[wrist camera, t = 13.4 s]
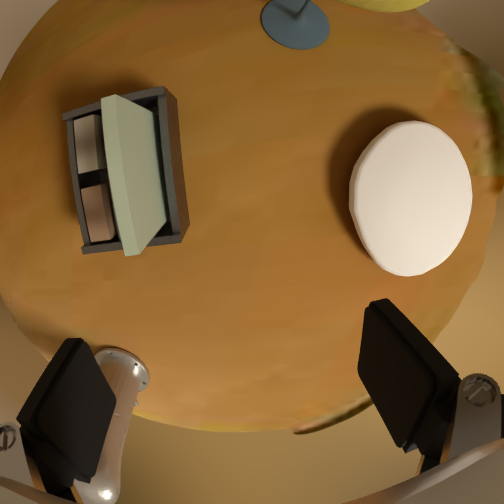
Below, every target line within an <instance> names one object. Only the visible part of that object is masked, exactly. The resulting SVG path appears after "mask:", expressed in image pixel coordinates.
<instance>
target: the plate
mask: <svg viewBox="0 0 504 504" xmlns="http://www.w3.org/2000/svg"><path fill="white" fill-rule="evenodd" d="M471 204H472V188H471V179H470V175H469V171H468V168H467V165H466V163H465V161H464V159H463V157H462V154H461V152H460V150H459V148H458V147H457V146H456V144H455V143H454V142H453V140H452V139H451V138H450V137H449V136H447V135H446V134H445V133H444V132H443V131H442V130H440V129H439V128H437V127H435V126H433V125H431V124H429V123H425V122H420V121H415V120H414V121H405V122H398V123H395V124H393V125H391V126H389V127H387V128H385V129H384V130H383V131H382V132H381V133H380V134H378V135H377V136H376V137H375V138H374V139H373V140H372V141H371V142H370V143H369V144H368V146H367V147H366V148H365V149H364V150H363V152H362V153H361V155H360V157H359V158H358V160H357V162H356V164H355V165H354V167H353V171H352V175H351V178H350V182H349V210H350V213H351V216H352V219H353V222H354V225H355V228H356V231H357V234H358V236H359V238H360V240H361V242H362V244H363V246H364V248H365V249H366V251H367V252H368V254H369V255H370V257H371V258H372V260H373V261H374V262H375V263H376V264H377V265H379V266H380V267H381V268H382V269H384V270H386V271H388V272H390V273H393V274H395V275H399V276H407V277H408V276H414V275H421V274H423V273H425V272H427V271H429V270H431V269H432V268H434V267H436V266H438V265H439V264H441V263H442V262H443V261H444V260H445V259H446V258H448V257H449V255H450V254H451V253H452V252H453V250H454V249H455V248H456V246H457V245H458V243H459V241H460V240H461V238H462V236H463V234H464V231H465V229H466V226H467V223H468V219H469V215H470V211H471Z"/></svg>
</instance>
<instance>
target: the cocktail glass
mask: <svg viewBox="0 0 504 504" xmlns="http://www.w3.org/2000/svg"><path fill="white" fill-rule="evenodd" d="M311 1H312V0H273V1H271V2H270V3H269V4H268V5H267V6H266V7H265V8H264V10H263V13H262V24H263V27H264V29H265V31H266V32H267V34H268V35H269V36H270V37H271V38H272V39H274V40H275V41H276V42H278V43H280V44H281V45H284V46H286V47H289V48H293V49H310V48H314V47H316V46H319V45H320V44H322V43H323V42H324V41H325V40H326V38H327V36H328V34H329V22H328V19H327V17H326V15H325V14H324V12H323V11H322V10H321V9H320V8H319V7H318V6H317V5H315V4H314V3H312V2H311ZM336 1H338V2H341V3H344V4H347V5H351V6H354V7H357V8H362V9H367V10H371V11H380V12H401V11H406V10H410V9H414V8H416V7H419V6H420V5H422V4H424V3H426V2H428V1H429V0H336Z"/></svg>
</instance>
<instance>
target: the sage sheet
mask: <svg viewBox="0 0 504 504" xmlns="http://www.w3.org/2000/svg"><path fill="white" fill-rule="evenodd" d="M101 109H102V122H103V133H104V142H105V151H106V159H107V166H108V173H109V179H110V186H111V192H112V197H113V203H114V208H115V213H116V218H117V223H118V228H119V232H120V237H121V241H122V245H123V249H124V253H125V256H131V255H138V254H140V253H141V252H142V250H143V249H144V248H145V247H146V245H147V244H148V243H149V242H150V240H151V239H152V238H153V237H154V236H155V234H156V233H157V232H158V231H159V229H160V228H161V227H162V226H163V225H164V223H165V222H166V221H167V220H168V219H169V218H170V211H169V204H168V196H167V189H166V181H165V172H164V164H163V154H162V144H161V133H160V121H159V115H157V114H155V113H153V112H151V111H149V110H147V109H145V108H143V107H141V106H139V105H137V104H135V103H133V102H131V101H129V100H127V99H125V98H123V97H120V96H118V95H116V94H115V95H111V96H108V97H105V98H102V99H101Z"/></svg>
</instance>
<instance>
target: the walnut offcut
mask: <svg viewBox="0 0 504 504" xmlns="http://www.w3.org/2000/svg"><path fill="white" fill-rule="evenodd" d="M81 193H82V200H83V205H84V211H85V216H86V221H87V226H88V231H89V235H90V240H91V242H96V241H103V240H110V239H112V238H113V237H114V236H115V235H116V234H118V232H117V227H116V221H115V216H114V210H113V205H112V198H111V192H110V185H109V181H106V182H103V183H99V184H96V185H93V186H90V187H86V188H83V189H81Z"/></svg>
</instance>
